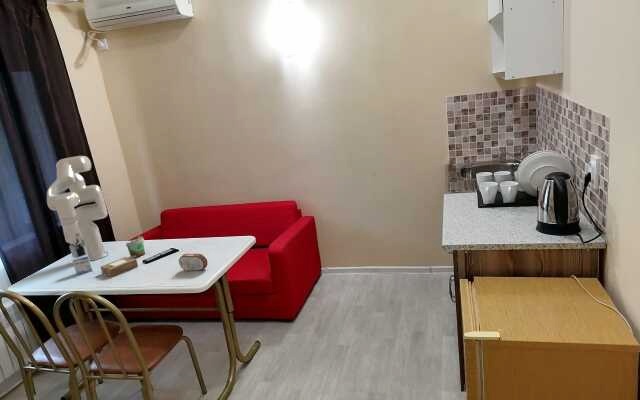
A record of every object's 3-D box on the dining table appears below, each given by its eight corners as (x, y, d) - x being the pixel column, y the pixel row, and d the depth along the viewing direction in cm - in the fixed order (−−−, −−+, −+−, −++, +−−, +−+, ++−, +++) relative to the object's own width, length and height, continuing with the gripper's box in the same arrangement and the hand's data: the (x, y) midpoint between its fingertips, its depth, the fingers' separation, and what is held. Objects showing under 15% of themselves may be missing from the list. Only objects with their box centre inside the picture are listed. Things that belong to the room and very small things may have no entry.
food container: (139, 259, 258) (135, 242, 256) (130, 259, 260) (125, 243, 257) (151, 251, 270) (147, 235, 268) (142, 251, 271) (138, 235, 269)
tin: (209, 268, 226) (205, 252, 224) (205, 271, 223) (202, 255, 221) (183, 269, 231) (180, 253, 229) (180, 271, 228) (176, 255, 226)
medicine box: (76, 275, 248) (72, 260, 245) (76, 273, 251) (72, 258, 249) (92, 271, 251) (88, 256, 249) (92, 268, 255) (88, 254, 253)
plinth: (102, 273, 243) (100, 266, 242) (127, 263, 254) (125, 256, 253) (113, 277, 236) (110, 269, 235) (138, 266, 246) (136, 259, 245)
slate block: (72, 257, 233) (69, 245, 231) (82, 253, 236) (79, 242, 235) (76, 258, 229) (73, 247, 228) (86, 254, 233) (83, 243, 232)
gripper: (54, 221, 231) (64, 255, 236) (68, 224, 220) (78, 259, 224) (69, 216, 236) (79, 249, 241) (84, 219, 225) (94, 254, 230)
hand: (79, 254), depth 233 cm, fingers closed on slate block, 5 cm apart
